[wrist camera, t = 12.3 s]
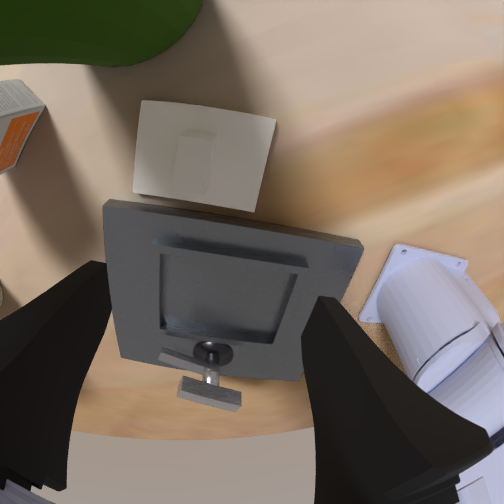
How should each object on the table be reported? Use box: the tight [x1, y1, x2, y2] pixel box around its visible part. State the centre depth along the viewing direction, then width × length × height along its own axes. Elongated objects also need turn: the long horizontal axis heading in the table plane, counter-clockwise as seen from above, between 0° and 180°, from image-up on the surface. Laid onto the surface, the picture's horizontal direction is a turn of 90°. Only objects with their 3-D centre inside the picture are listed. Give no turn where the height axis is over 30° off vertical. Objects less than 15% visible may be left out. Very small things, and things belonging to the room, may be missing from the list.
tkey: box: [158, 347, 241, 412], centre depth 22 cm, size 1×7×5 cm, turn 62°
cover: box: [133, 100, 276, 212], centre depth 16 cm, size 8×6×4 cm
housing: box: [103, 199, 364, 381], centre depth 22 cm, size 18×16×2 cm
